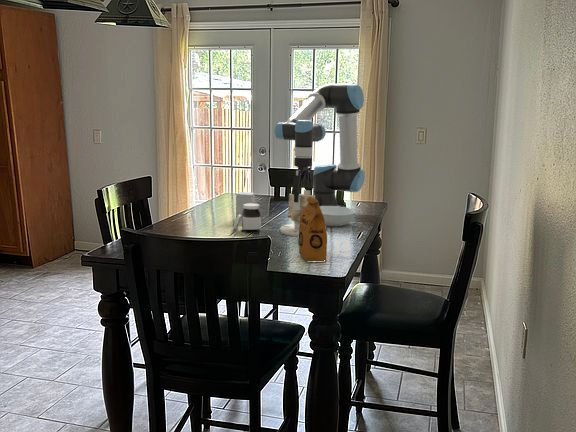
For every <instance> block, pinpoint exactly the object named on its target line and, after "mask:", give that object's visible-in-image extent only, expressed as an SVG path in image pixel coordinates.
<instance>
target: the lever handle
mask: <svg viewBox="0 0 576 432" xmlns="http://www.w3.org/2000/svg"><path fill="white" fill-rule="evenodd" d="M299 195H300V210H293V202H294V194H291V193H289V194H288V214H287V216H286V217H287V218H289V219H290V220H291V221H292V222H294V221H296V222H300V216H301V214H302V212H303V211H304V209H305V207H306V206H307V204H308V201H307V198H308V197H312V198H314V199H315V195H313V194H310V195H306V194H304V193H300V194H299Z"/></svg>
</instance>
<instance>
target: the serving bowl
mask: <svg viewBox="0 0 576 432" xmlns="http://www.w3.org/2000/svg"><path fill="white" fill-rule="evenodd" d="M320 209H321V211H322V214H323V216H324V220H325V225H326V227H335V226H336V227H341V226H346V225H348V224H351V222H352V221H353V220H354V219H355V217H356V210H354V209H352V208H350V207H345V206H339V205H338V206H320ZM336 227H335V228H336Z"/></svg>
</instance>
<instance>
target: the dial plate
mask: <svg viewBox="0 0 576 432" xmlns="http://www.w3.org/2000/svg"><path fill="white" fill-rule="evenodd" d="M299 225H300V222H296V221H293V223H291V224H285V225H282V226H280V230H279V231H280V233H281V234H283V235H286V236H291V237H298V236H299Z"/></svg>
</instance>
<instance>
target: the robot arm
mask: <svg viewBox="0 0 576 432" xmlns="http://www.w3.org/2000/svg"><path fill="white" fill-rule="evenodd" d="M364 103H365V96H364V91H363V89H362V87H361V86H360V85H359V84H354V83H327V84H323V85H322V86H320V87H317V88H316V89H315V90H313V91H312V92H311V93H309V95H308V96H307V100H306V101H305V102H304V103H303V104H302V105H301V106H300V107H299V108H298V109H297V110H296V111H295V112H294V113H293V114H292V115H291V116H290V117H289V118H288V119H287V120H286V121H285V122H278V123H276V124H275V127H274V136H275V138H276V139H278V140H282V141H294V148H293V151H294V158H293V159H294V160H293V161H294V162H293V165H294V167H297V169H295V170H294V172H293V173H294V174H293V175H294V176H293V181H292V187H291V193H290V194H294V202H293V210H300V195H299V194H301V193H300V192H301V189H302V185H303V187H304V190H303V194H306V195H311V191H312V195H315V199H316V200H317V201H318V203H319V206H339V204H338V201H337V196H336V191H340V192H347V193H359V191H361V189H362V188H363V186H364V182H365V179H366V173H365V170H364V169H361V164H360V163H359V162H358V122H357V121H358V119H357V118H358V114H360V111H361V110H362V109H363V107H364ZM325 109H335V114H336V115H338V121H339V122H338V125H339V128H338V129H339V131H338V132H339V161H340V162H339V164H338V165H336V164H322V165H317V166H316V165H315V167H314V168H313V175H312V168H311V167H313V158H312V157H313V143H315V142H317V143H318V142H320V141H323V140H324V138H325V137H326V134H327V132H326V129H325V126H323V125H322V124H320V123H314V121H312V119H313V118H314V117H315V116H316V115H317V113H319V112H321V111H323V110H325ZM312 177H313V179H312ZM312 180H313V181H312Z"/></svg>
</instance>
